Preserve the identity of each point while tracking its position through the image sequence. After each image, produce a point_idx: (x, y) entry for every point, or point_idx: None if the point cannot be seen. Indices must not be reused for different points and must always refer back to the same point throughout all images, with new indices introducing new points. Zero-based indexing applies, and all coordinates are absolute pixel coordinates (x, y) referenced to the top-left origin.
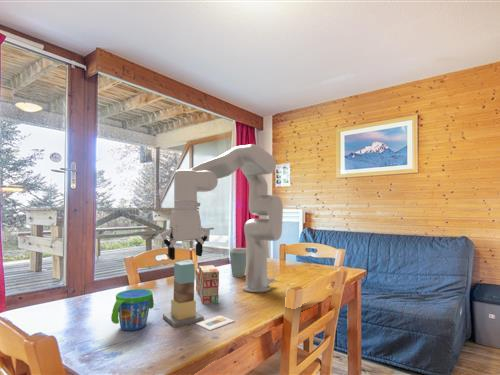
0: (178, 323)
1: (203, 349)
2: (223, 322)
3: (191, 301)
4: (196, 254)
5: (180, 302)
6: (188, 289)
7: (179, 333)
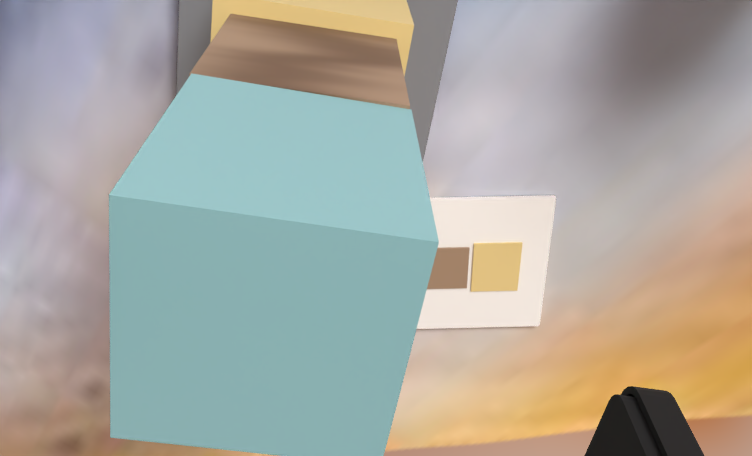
0: None
1: (182, 449)
2: (470, 305)
3: None
4: (609, 422)
5: None
6: None
7: None
